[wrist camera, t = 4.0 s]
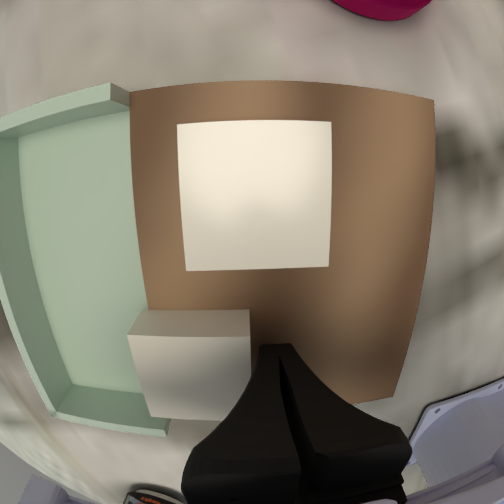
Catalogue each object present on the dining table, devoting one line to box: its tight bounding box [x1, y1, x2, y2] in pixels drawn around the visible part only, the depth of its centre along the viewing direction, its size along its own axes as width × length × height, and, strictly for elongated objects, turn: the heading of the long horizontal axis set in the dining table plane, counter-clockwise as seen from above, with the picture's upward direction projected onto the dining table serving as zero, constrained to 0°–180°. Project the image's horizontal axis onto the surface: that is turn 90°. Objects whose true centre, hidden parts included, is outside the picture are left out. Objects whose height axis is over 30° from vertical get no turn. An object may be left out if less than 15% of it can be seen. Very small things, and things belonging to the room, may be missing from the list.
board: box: [130, 81, 435, 404], centre depth 12 cm, size 12×15×1 cm
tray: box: [0, 83, 171, 437], centre depth 11 cm, size 7×15×3 cm, turn 1°
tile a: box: [127, 309, 251, 421], centre depth 12 cm, size 4×4×2 cm
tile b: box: [177, 120, 332, 271], centre depth 10 cm, size 4×4×2 cm
